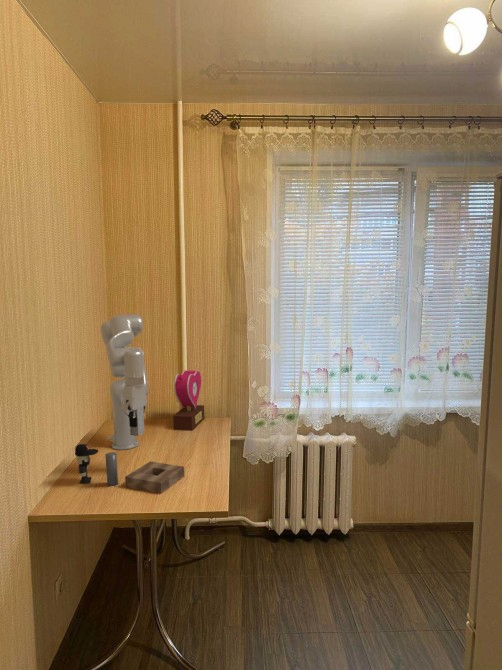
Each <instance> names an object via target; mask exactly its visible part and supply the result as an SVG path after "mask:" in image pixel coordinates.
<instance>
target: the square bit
mask: <svg viewBox="0 0 502 670" xmlns="http://www.w3.org/2000/svg"><path fill="white" fill-rule="evenodd" d="M131 413H132V414H133V411H131ZM144 415H145V413H144V414H143V407H140V408H138V409H137V410H136V414H135V417H136V419H137V427H130V435H135V437H136V436H137V437H139V436H141V435H143V434H145V416H144Z"/></svg>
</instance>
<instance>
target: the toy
mask: <svg viewBox="0 0 502 670" xmlns="http://www.w3.org/2000/svg"><path fill="white" fill-rule="evenodd" d="M74 449H75V450H74V455H75V456H76V461H77V462H76V463H77V465H78V474H79V476H80V477H81V478H80V479H79V483H80V484H89V483H91V481H92V476H88V470H89V467H88V466H89V465H90V463H91V456H94V455H96V454H98V453H99V449H97V448H89V446H88V445H87V444H86V443H80V444H77V445H76V446H75V448H74Z"/></svg>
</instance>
